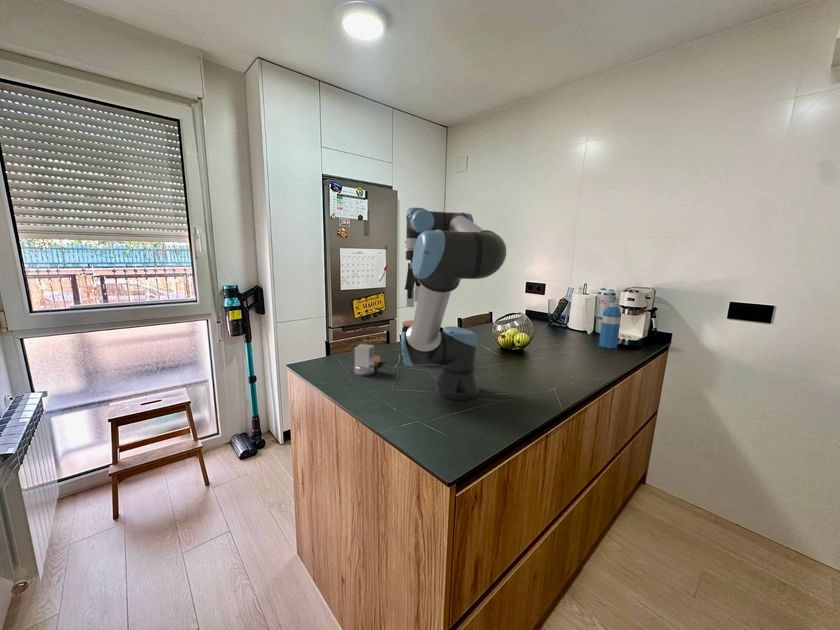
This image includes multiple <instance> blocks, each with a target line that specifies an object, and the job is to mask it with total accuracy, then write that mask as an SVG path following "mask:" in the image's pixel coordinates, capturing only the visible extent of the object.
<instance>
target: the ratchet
mask: <svg viewBox="0 0 840 630" xmlns="http://www.w3.org/2000/svg"><path fill="white" fill-rule="evenodd" d="M380 362H381V356H380V355H374V364H373V365H372V366H371V367H370V368H359V367H355V366H354V375H356V376H359V377H360V376H361V377H368V376H371V375H373V374H375V368H376V367H377V365H378V364H380Z"/></svg>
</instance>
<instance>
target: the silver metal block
mask: <svg viewBox="0 0 840 630" xmlns="http://www.w3.org/2000/svg"><path fill="white" fill-rule="evenodd" d="M374 356H375V345H374V344H366V343H365V344H364V343H360V344H358V345H357V346H355V347H354V368H355V367H359V368H370V367H371V366H372V365H373V364H374Z"/></svg>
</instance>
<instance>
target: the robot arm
mask: <svg viewBox="0 0 840 630" xmlns="http://www.w3.org/2000/svg"><path fill="white" fill-rule="evenodd" d="M405 218H406V234H405V235H406V236H405V237H406V239H405V240H404V244H405V248H406V249H407V250H406V251H405V261H410V262H408V263H407V274H406V280H405V287H404V291H405V290H406V307H407V308H414V307H415V311H414V318H413V320H414V321H413V325H411V326H410V327H409V328H408V330H407V332H402V331H401V333H400V340H401V341H400V342H401V355H402V354H403V360H402V362H403V364H404V365H405V366H406V367H407V366H408V367H420V366H421V367H425V366H427V367H428V366H441V371H440V373H439V377H438V378H437V382H436V386H435V391H436V393H437V394H438V396H441V397H443V398H445V399H450V400H454V401H466V400H467V401H468V400H472V399H474V398H476V397H477V396H478V394H479V385H478V381H477V377H476V373H475V369H476V353H477V352H476V351H477V347H478V346H477V335H476V333H475V332H474V331H472V330H470V329H467V328H463V327H458V326H445V327H443V330H442V331H440V330H441V329H440V328H441V326H442V323H443V319H444V316H445V312H446V309H447V306H448V302H449V299H450V295H451V292H453V291H455V290H456V289H457V288H458V286H459V285H460V283H461V280H480V279H486V278H488V277H491V276H493V274H495V273H497V271H499V269H501V268H502V266H503V264H504V263H505V260H506V257H507V245H506V244H505V243H506V242H505V241H504V240H503V238H502V237H501V236H500V235H498V234H497V233H496V232H494V231H492V230H488V229H485V230H484V229H483V228H482V227H480V226H479V225H477V223H474V218H473V215H472V214H471V213H467V212H464V211H463V212H445V211H430V210H428V209H425V208H424V207H409V208H408V209H407V210H406V216H405ZM415 303H416V306H415Z"/></svg>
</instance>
